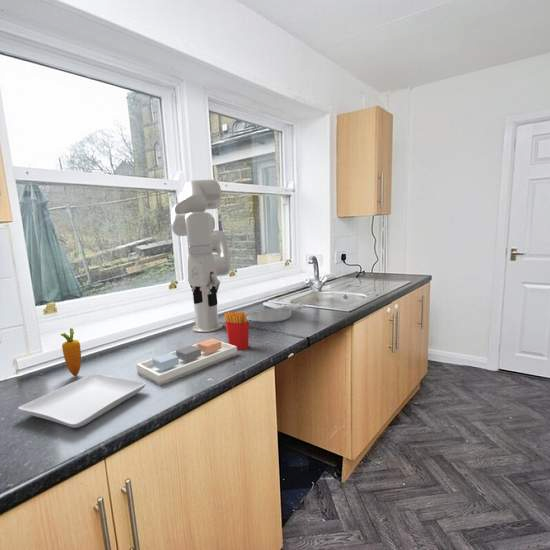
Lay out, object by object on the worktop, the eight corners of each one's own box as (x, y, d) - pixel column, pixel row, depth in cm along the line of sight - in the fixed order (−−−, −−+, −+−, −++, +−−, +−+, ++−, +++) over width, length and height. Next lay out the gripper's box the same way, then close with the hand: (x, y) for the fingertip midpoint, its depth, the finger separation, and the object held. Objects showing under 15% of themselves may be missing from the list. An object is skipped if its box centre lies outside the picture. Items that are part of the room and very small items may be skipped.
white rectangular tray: (137, 373, 106) (136, 364, 106) (212, 346, 126) (211, 338, 125) (159, 385, 96) (158, 375, 96) (237, 354, 116) (236, 346, 116)
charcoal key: (176, 357, 111) (175, 350, 110) (191, 352, 115) (191, 345, 114) (186, 361, 107) (185, 354, 107) (201, 356, 111) (200, 348, 111)
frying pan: (278, 309, 177) (277, 291, 175) (325, 320, 151) (324, 299, 149) (239, 319, 163) (238, 299, 162) (284, 333, 137) (282, 310, 136)
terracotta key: (197, 350, 116) (197, 343, 116) (211, 345, 120) (211, 338, 120) (207, 353, 113) (206, 346, 112) (221, 348, 116) (220, 341, 116)
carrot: (71, 381, 104) (64, 332, 102) (63, 378, 106) (55, 330, 104) (88, 374, 108) (81, 328, 106) (79, 372, 110) (72, 326, 108)
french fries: (252, 346, 123) (249, 311, 121) (245, 350, 119) (242, 314, 118) (231, 343, 128) (228, 309, 126) (224, 347, 124) (221, 312, 122)
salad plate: (149, 393, 93) (148, 381, 93) (77, 438, 74) (74, 423, 74) (95, 383, 102) (93, 371, 102) (17, 421, 83) (15, 407, 83)
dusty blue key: (153, 366, 105) (152, 358, 105) (169, 360, 109) (168, 352, 109) (162, 370, 101) (161, 362, 101) (179, 364, 105) (178, 356, 105)
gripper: (175, 252, 115) (181, 303, 118) (206, 252, 103) (211, 310, 106) (195, 249, 121) (200, 299, 123) (226, 249, 108) (231, 304, 111)
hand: (205, 304), depth 114 cm, fingers open, 7 cm apart
